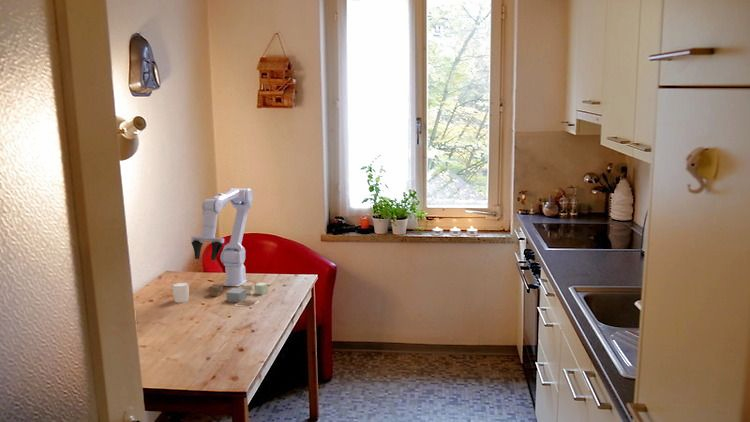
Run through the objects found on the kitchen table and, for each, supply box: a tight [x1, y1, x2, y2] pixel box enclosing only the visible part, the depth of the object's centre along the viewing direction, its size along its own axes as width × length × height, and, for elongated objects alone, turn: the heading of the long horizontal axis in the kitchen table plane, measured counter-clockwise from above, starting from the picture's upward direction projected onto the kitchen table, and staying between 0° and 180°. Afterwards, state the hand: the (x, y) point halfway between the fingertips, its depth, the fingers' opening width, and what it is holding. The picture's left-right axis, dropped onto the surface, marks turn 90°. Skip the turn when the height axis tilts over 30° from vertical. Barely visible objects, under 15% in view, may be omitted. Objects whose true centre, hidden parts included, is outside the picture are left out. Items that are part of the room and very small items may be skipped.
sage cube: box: [254, 281, 269, 296], centre depth 287 cm, size 4×4×4 cm
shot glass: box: [171, 281, 190, 304], centre depth 278 cm, size 7×7×7 cm
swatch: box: [234, 299, 260, 308], centre depth 273 cm, size 7×7×1 cm
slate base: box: [225, 287, 248, 303], centre depth 279 cm, size 6×6×4 cm
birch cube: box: [241, 281, 255, 295], centre depth 288 cm, size 4×4×4 cm
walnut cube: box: [208, 283, 223, 297], centre depth 286 cm, size 4×4×4 cm
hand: (205, 259), depth 276 cm, fingers open, 7 cm apart
